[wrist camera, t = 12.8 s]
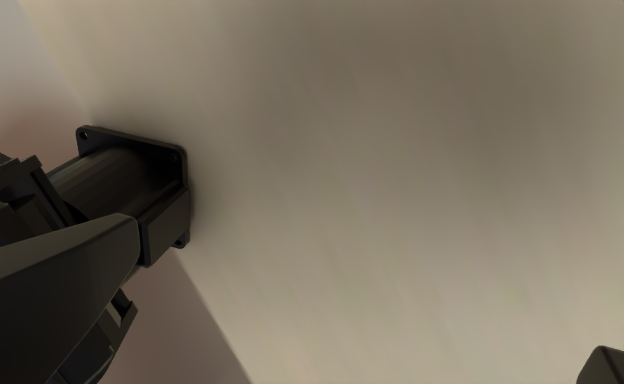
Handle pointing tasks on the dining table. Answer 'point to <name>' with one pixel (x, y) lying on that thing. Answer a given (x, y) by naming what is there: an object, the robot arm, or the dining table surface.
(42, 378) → the robot arm
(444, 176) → the dining table surface
